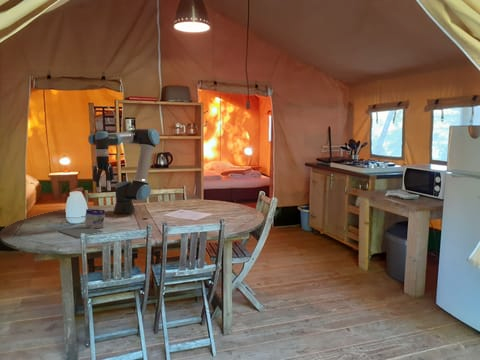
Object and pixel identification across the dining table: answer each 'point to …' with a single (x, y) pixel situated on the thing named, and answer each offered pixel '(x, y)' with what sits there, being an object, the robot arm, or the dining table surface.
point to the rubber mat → (79, 231)
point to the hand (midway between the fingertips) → (104, 191)
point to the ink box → (94, 218)
